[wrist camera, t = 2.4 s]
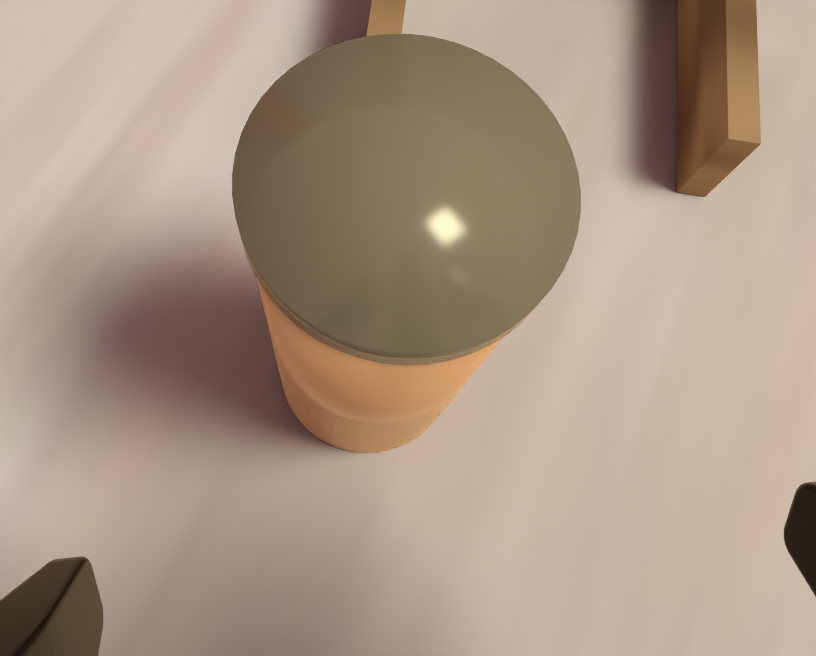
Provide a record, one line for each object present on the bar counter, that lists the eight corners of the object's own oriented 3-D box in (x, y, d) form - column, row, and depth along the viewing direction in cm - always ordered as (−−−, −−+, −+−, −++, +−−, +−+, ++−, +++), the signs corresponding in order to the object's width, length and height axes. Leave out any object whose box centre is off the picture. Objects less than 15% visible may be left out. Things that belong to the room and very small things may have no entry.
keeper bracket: (705, 196, 26) (760, 143, 23) (355, 143, 25) (360, 81, 22) (703, -41, 29) (752, -118, 26) (389, -95, 28) (398, -182, 25)
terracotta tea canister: (487, 401, 23) (646, 252, 12) (330, 490, 22) (339, 419, 11) (400, 254, 24) (468, -12, 13) (245, 331, 23) (170, 112, 12)
